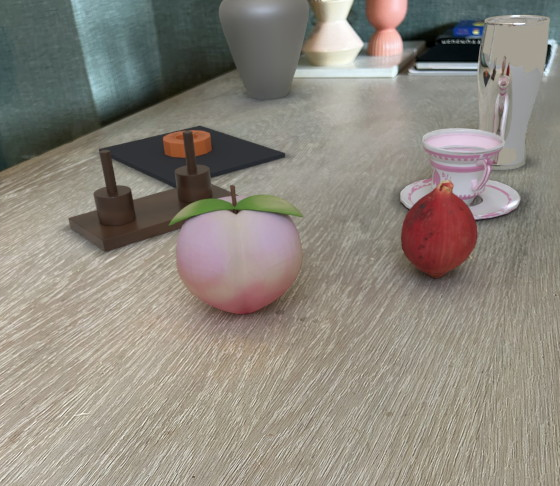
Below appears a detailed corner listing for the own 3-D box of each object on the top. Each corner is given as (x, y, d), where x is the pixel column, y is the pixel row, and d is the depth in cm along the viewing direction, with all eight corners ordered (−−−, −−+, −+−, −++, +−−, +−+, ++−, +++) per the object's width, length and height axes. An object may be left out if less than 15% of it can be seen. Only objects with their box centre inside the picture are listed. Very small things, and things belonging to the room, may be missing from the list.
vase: (208, 100, 113) (190, -78, 99) (261, 84, 122) (252, -81, 108) (276, 109, 106) (267, -83, 92) (327, 91, 115) (326, -86, 101)
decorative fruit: (294, 281, 55) (290, 160, 50) (312, 331, 49) (309, 197, 43) (181, 294, 55) (163, 171, 49) (183, 345, 48) (163, 211, 42)
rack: (70, 229, 68) (52, 150, 63) (204, 190, 75) (196, 118, 71) (105, 252, 62) (87, 169, 58) (245, 208, 70) (239, 131, 66)
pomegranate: (417, 298, 52) (425, 198, 47) (387, 268, 57) (391, 174, 52) (484, 286, 53) (498, 187, 49) (449, 257, 58) (459, 164, 53)
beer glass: (505, 175, 75) (526, 25, 66) (454, 163, 79) (468, 20, 71) (541, 161, 78) (565, 16, 70) (490, 150, 83) (508, 13, 74)
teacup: (379, 192, 72) (381, 133, 69) (476, 175, 75) (483, 118, 72) (437, 231, 63) (442, 164, 59) (545, 210, 66) (556, 146, 62)
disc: (156, 151, 87) (154, 136, 86) (195, 141, 90) (194, 127, 89) (180, 160, 83) (178, 145, 82) (220, 150, 86) (219, 136, 85)
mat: (99, 153, 90) (98, 148, 89) (200, 129, 98) (200, 125, 97) (175, 188, 76) (174, 183, 76) (285, 157, 84) (285, 152, 84)
